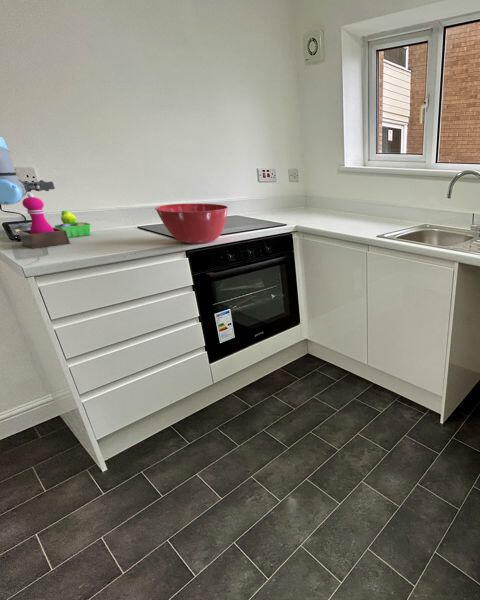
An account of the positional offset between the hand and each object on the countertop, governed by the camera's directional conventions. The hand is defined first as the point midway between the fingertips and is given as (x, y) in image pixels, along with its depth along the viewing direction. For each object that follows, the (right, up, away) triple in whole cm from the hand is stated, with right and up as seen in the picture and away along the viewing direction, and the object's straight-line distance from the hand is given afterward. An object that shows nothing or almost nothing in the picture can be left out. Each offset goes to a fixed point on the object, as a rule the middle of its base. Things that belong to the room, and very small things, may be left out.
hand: (17, 184), depth 128 cm
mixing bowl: (+47, -15, +35) cm, 60 cm away
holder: (-9, -19, +20) cm, 29 cm away
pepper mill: (-9, -18, +20) cm, 28 cm away
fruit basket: (-13, -12, +37) cm, 41 cm away
